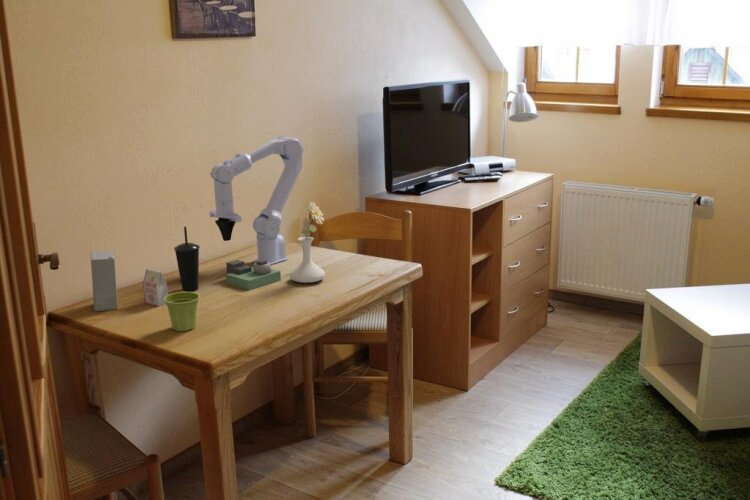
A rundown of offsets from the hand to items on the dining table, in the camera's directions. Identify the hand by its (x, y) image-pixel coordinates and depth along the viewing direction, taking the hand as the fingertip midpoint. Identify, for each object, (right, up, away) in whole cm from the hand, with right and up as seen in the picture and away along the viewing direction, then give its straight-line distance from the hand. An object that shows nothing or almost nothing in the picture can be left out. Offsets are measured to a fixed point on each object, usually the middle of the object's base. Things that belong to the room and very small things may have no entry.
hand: (227, 240), depth 260 cm
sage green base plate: (+11, -13, -13) cm, 21 cm away
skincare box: (-29, -20, -33) cm, 48 cm away
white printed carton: (-15, -19, -31) cm, 39 cm away
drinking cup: (-8, -16, -19) cm, 26 cm away
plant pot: (-2, -24, -52) cm, 57 cm away
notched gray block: (+6, -13, -10) cm, 18 cm away
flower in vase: (+29, -13, -12) cm, 34 cm away
